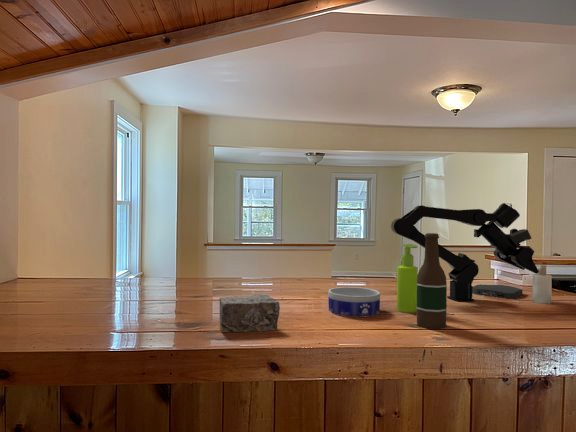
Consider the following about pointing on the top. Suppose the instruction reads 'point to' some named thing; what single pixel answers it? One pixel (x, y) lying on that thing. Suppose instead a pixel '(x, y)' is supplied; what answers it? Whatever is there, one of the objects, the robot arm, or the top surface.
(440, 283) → the beer bottle
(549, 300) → the bottle
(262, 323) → the stone block
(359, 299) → the dog bowl
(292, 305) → the top surface
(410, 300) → the soap dispenser
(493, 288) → the media streaming box
